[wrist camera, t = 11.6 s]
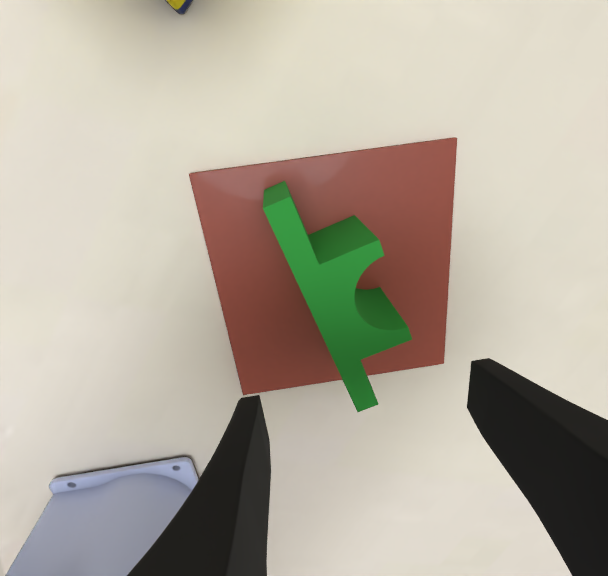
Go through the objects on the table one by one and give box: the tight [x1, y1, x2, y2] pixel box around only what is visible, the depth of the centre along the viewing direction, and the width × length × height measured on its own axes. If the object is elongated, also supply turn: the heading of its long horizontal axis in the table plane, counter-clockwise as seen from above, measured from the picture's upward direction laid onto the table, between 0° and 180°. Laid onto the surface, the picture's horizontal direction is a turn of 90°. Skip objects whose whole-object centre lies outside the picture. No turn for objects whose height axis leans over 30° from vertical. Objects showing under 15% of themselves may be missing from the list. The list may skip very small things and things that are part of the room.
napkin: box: [189, 138, 457, 395], centre depth 20 cm, size 13×14×1 cm
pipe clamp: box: [263, 181, 412, 412], centre depth 17 cm, size 11×4×5 cm, turn 22°
